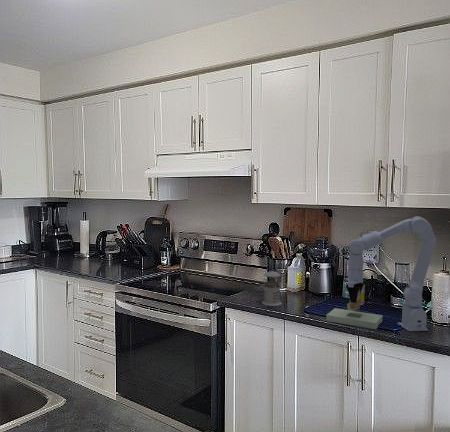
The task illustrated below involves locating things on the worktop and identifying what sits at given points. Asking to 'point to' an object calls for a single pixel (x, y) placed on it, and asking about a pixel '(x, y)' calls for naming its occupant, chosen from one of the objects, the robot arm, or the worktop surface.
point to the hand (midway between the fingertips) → (354, 301)
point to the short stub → (349, 308)
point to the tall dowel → (357, 304)
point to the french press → (272, 288)
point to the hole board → (354, 318)
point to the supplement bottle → (362, 295)
